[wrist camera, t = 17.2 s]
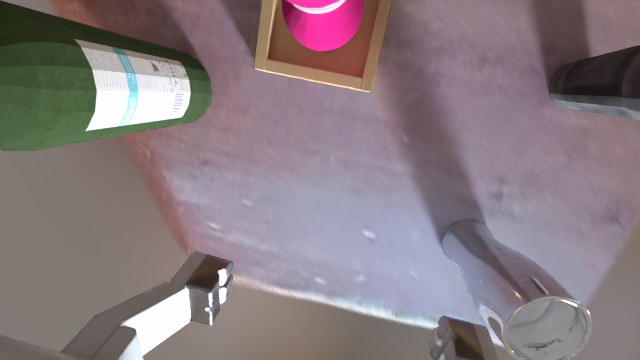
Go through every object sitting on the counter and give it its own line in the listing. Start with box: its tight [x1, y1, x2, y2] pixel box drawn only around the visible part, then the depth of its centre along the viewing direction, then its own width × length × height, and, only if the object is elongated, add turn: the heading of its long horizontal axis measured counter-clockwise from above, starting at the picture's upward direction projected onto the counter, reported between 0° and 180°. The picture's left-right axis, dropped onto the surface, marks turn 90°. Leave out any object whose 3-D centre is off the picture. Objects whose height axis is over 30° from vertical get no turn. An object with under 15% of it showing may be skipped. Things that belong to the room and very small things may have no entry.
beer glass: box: [441, 219, 593, 360], centre depth 30 cm, size 7×7×15 cm
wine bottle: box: [0, 1, 212, 151], centre depth 19 cm, size 8×8×30 cm
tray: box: [254, 0, 392, 92], centre depth 30 cm, size 12×12×2 cm
